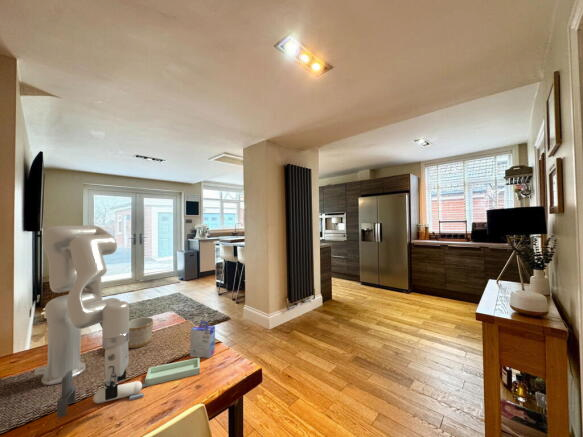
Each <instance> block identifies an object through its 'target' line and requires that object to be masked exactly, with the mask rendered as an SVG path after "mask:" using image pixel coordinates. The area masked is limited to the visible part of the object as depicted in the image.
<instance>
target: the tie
mask: <svg viewBox="0 0 583 437" xmlns="http://www.w3.org/2000/svg"><path fill="white" fill-rule="evenodd" d="M76 394H77V385H76V384H75V385H73V378H72V370H71V371H68V372H67V373H66V375H65V376H64V377H63V378H62V382H61V396H60V397H59V398H58V399H57V403H56V418H57V419H59V418H64V417H65V416H67V413H68V411H67V410H68V409H67V408H68V407H67V406H68V405H69V404H73V403H75V402H76V400H77V399H76V398H77V395H76Z"/></svg>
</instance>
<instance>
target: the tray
mask: <svg viewBox="0 0 583 437" xmlns="http://www.w3.org/2000/svg"><path fill="white" fill-rule="evenodd" d="M200 358H201V357H193V358H190V359H185V360H180V361H176V362H175V361H174V362H171V363H165V364H161V365H155V366H151V367H148V370H147V374H146V377H145V379H144V383H145V384H147V386H146V387H149V386H153V385H157V384H161V383H165V382H170V381H173V380H179V379H182V378H183V379H184V378H187V377H188V378H189V377H192V376H195V375H201V373H200V372H201V369H200V368H201V366H200V365H201V363H200V362H201V361H200V360H201V359H200Z"/></svg>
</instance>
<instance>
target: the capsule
mask: <svg viewBox="0 0 583 437" xmlns="http://www.w3.org/2000/svg"><path fill="white" fill-rule="evenodd" d="M142 384H143V383H142V382H141V381H139V380H135V381H131V382H127V383H123V384H118V396H117V397H116V398H113V399H109V400H105V387H104V388H100V389H99V390H97V391H96V392H95V393H94V395H93V399H92V400H93V402H94V403H95V404H102V403H105V402H111V401H114V400H119V399H123V398H126V397H130V396H133V395H137V394H140V392H141V390H142Z"/></svg>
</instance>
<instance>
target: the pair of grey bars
mask: <svg viewBox="0 0 583 437" xmlns="http://www.w3.org/2000/svg"><path fill="white" fill-rule="evenodd" d="M146 387H148V386H147V384H145V382H144V383H142V388H146ZM144 396H145V392H142V393H137V394H135V395H131V396H129V401H133V400H137V399H142V398H144Z"/></svg>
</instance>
